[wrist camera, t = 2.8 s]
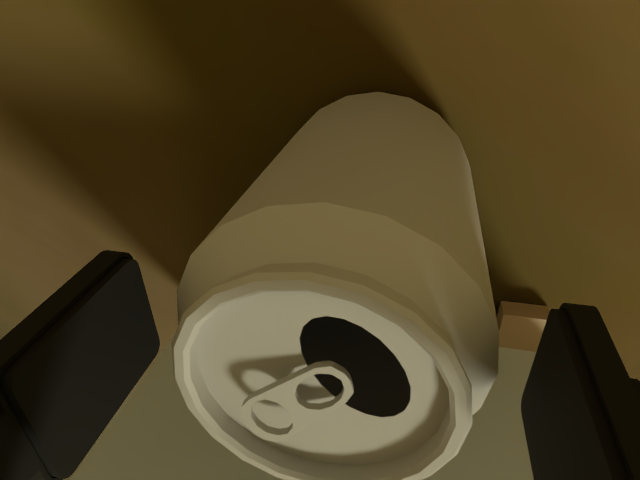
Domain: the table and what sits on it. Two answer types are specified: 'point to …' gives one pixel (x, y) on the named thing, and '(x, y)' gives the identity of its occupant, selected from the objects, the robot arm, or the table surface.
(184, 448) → the screen
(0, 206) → the table surface
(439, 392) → the can
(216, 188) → the table surface
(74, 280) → the robot arm
